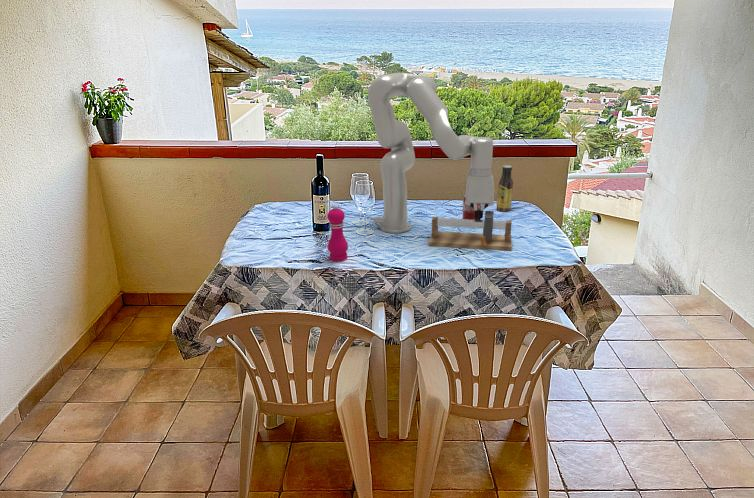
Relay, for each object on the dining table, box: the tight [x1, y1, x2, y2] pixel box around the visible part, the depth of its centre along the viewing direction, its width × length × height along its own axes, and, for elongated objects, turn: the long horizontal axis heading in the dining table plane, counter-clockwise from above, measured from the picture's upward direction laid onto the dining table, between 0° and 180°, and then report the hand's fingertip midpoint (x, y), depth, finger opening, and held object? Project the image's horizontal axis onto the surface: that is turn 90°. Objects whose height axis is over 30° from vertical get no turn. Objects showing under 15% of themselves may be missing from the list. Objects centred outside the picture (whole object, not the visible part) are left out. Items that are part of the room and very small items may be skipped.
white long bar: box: [437, 217, 506, 230], centre depth 193 cm, size 25×2×2 cm, turn 77°
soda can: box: [461, 194, 481, 220], centre depth 213 cm, size 7×7×12 cm
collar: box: [484, 210, 495, 239], centre depth 192 cm, size 3×8×8 cm, turn 167°
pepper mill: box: [327, 204, 349, 262], centre depth 181 cm, size 7×7×20 cm
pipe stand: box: [428, 216, 513, 252], centre depth 194 cm, size 30×12×9 cm, turn 77°
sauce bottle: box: [496, 164, 514, 212], centre depth 227 cm, size 7×6×20 cm
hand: (478, 219), depth 195 cm, fingers closed
